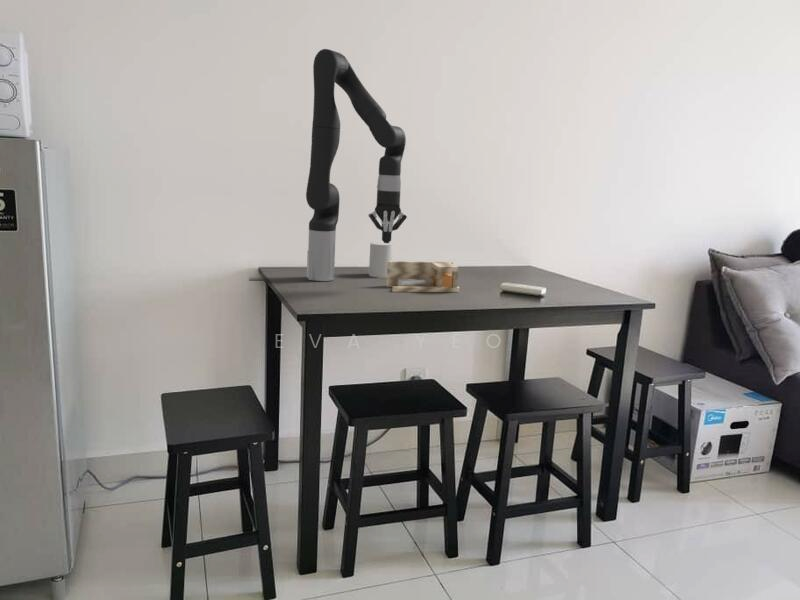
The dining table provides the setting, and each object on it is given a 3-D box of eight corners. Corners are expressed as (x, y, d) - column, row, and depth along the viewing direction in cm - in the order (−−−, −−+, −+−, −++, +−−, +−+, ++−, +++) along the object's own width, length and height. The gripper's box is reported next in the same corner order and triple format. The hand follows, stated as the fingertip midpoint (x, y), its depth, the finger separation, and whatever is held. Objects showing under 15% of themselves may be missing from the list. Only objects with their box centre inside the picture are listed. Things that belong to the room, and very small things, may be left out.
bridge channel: (393, 291, 205) (394, 266, 204) (386, 285, 215) (387, 261, 213) (459, 291, 211) (461, 267, 210) (449, 286, 221) (451, 262, 219)
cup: (391, 274, 237) (393, 242, 234) (389, 278, 229) (391, 245, 226) (370, 272, 238) (372, 241, 235) (367, 276, 230) (368, 244, 227)
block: (437, 290, 212) (438, 276, 211) (432, 287, 217) (433, 273, 216) (451, 290, 213) (452, 276, 212) (446, 287, 218) (447, 273, 217)
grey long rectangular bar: (401, 291, 209) (402, 280, 208) (397, 289, 211) (398, 279, 210) (433, 289, 214) (433, 279, 213) (428, 288, 216) (429, 278, 216)
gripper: (371, 189, 197) (369, 244, 201) (411, 191, 201) (408, 244, 205) (366, 188, 205) (364, 241, 208) (405, 189, 208) (402, 241, 212)
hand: (386, 242), depth 206 cm, fingers closed
